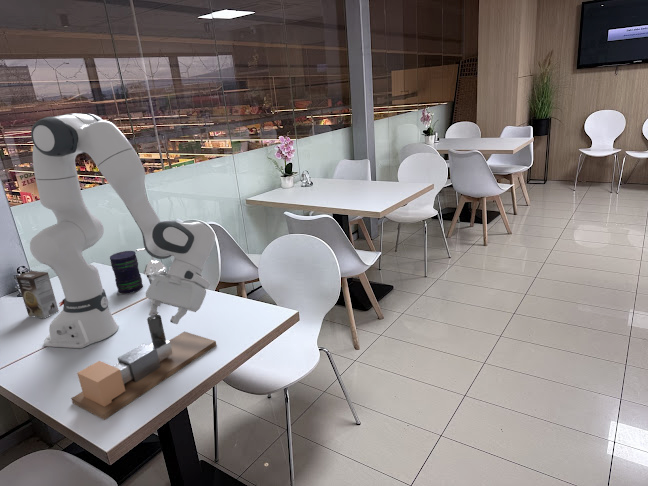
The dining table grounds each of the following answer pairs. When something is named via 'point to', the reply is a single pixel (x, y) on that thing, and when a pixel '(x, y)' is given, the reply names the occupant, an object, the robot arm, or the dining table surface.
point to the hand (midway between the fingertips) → (162, 319)
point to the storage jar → (126, 272)
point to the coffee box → (37, 293)
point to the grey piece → (157, 342)
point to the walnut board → (152, 374)
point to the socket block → (101, 383)
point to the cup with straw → (153, 268)
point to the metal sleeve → (141, 361)
